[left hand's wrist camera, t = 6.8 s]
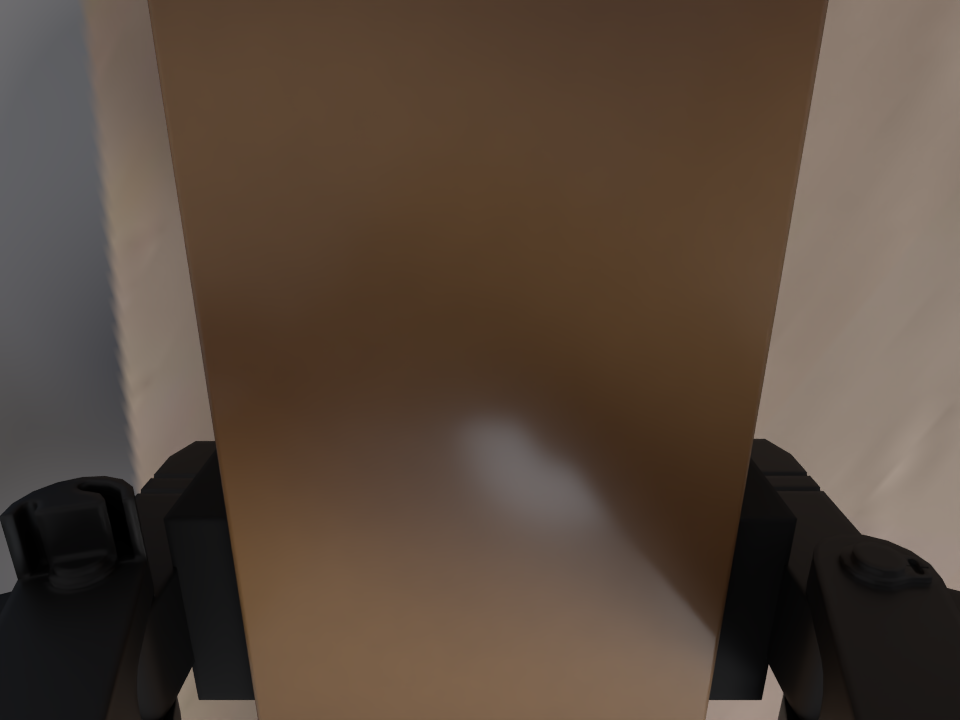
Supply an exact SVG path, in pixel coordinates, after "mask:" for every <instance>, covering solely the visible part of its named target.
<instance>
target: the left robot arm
mask: <svg viewBox="0 0 960 720" xmlns="http://www.w3.org/2000/svg"><path fill="white" fill-rule="evenodd" d="M0 521H1V524H2V528H3V531H4V534H5V538H6V541H7V545H8V548H9V551H10V555H11V558H12V561H13V565H14V568H15V571H16V575H17V578H18V581H17V583H16V584H15V586H14V588H13V590H12V592H8V593H4V594H0V720H181V713H180V708H179V703H178V698H177V695H178V693H179V691H180V689H181V688H182V686H183V684H184V682H185V680H186V678H187V676H188V674H189V672H190V670H191V668H192V667H193V673H194V678H195V683H196V688H197V693H198V698H199V700H255V696H254V690H253V683H252V677H251V670H250V664H249V657H248V651H247V644H246V638H245V631H244V625H243V618H242V612H241V605H240V599H239V592H238V586H237V579H236V573H235V566H234V560H233V553H232V547H231V540H230V534H229V527H228V521H227V514H226V508H225V501H224V494H223V488H222V481H221V475H220V468H219V462H218V455H217V449H216V442H215V441H195V442H194V443H192V444H190V445H188V446H187V447H185V448H183V449H182V450H180V451H178V452H177V453H175V454H173V455H172V456H170V457H169V458H168V459H167V460H166V462H165V463H164V464H163V465H162V466H161V467H160V468H159V470H158V471H157V472H156V473H155V474H154V478H151V479H150V480H149V481H148V482H147V483H146V485H145V486H144V487H143V488H142V489H141V494H137V495H136V496H135V495H134V490H133V487H132V486H131V485H130V484H128V483H127V482H126V481H124V480H123V479H118V478H113V477H107V476H97V477H81V478H76V479H71V480H67V481H62V482H58V483H55V484H52V485H49V486H47V487H44V488H41V489H39V490H36V491H33V492H31V493H30V494H28V495H26V496H25V497H23V498H21V499H19V500H18V501H16V502H14V503H13V504H11V505H10V506H9V507H8V508H7V509H6V511H5V512H4V513H3V514H2V515H1V516H0ZM768 665H770V667H771V669H772V671H773V673H774V675H775V677H776V679H777V681H778V683H779V685H780V687H781V689H782V691H783V698H782V703H781V708H780V712H779V717H778V720H960V591H957V590H953V589H949V588H947V587H946V585H945V583H944V581H943V579H942V578H941V577H940V576H939V574H938V573H937V572H936V571H935V569H934V568H933V567H932V566H931V565H930V564H929V563H928V562H926V561H925V560H923V559H922V558H920V557H919V556H918V555H916V554H915V553H913V552H912V551H910V550H908V549H905V548H903V547H901V546H898V545H896V544H894V543H892V542H889V541H886V540H882V539H878V538H874V537H870V536H866V535H861V533H860V532H859V531H858V530H857V529H856V528H855V527H854V525H853V524H852V523H851V522H850V521H849V520H848V519H847V517H846V516H845V515H844V514H843V513H842V512H841V511H840V510H839V508H838V507H837V506H836V505H835V504H834V503H833V502H832V500H831V499H830V498H829V497H828V496H827V495H826V494H825V492H824V491H820V487H819V486H818V484H817V483H816V482H815V481H814V480H813V479H812V478H811V476H807V472H806V471H805V470H804V468H803V467H802V466H801V465H800V464H799V463H798V462H797V460H796V459H795V458H794V457H793V456H792V455H791V454H790V453H788V452H786V451H785V450H783V449H781V448H780V447H778V446H776V445H774V444H773V443H771V442H769V441H768V440H766V439H753V445H752V450H751V456H750V462H749V468H748V474H747V480H746V485H745V491H744V497H743V503H742V509H741V515H740V520H739V526H738V532H737V538H736V544H735V550H734V556H733V561H732V567H731V573H730V579H729V585H728V591H727V596H726V602H725V608H724V614H723V620H722V626H721V631H720V637H719V643H718V649H717V655H716V661H715V667H714V672H713V678H712V684H711V690H710V696H709V700H762V695H763V690H764V685H765V680H766V675H767V670H768Z"/></svg>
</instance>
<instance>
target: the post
mask: <svg viewBox="0 0 960 720" xmlns="http://www.w3.org/2000/svg"><path fill="white" fill-rule="evenodd" d="M828 1H829V0H148V6H149V13H150V19H151V26H152V32H153V39H154V45H155V52H156V58H157V65H158V71H159V78H160V84H161V91H162V97H163V104H164V110H165V117H166V123H167V130H168V136H169V143H170V149H171V156H172V162H173V169H174V176H175V182H176V189H177V195H178V202H179V208H180V215H181V221H182V228H183V234H184V241H185V247H186V254H187V260H188V267H189V273H190V280H191V286H192V293H193V299H194V306H195V312H196V319H197V325H198V332H199V338H200V345H201V351H202V358H203V364H204V371H205V377H206V384H207V390H208V397H209V403H210V410H211V416H212V423H213V429H214V436H215V442H216V449H217V455H218V462H219V468H220V475H221V481H222V488H223V494H224V501H225V508H226V514H227V521H228V527H229V534H230V540H231V547H232V553H233V560H234V566H235V573H236V579H237V586H238V592H239V599H240V605H241V612H242V618H243V625H244V631H245V638H246V644H247V651H248V657H249V664H250V670H251V677H252V683H253V690H254V696H255V703H256V709H257V716H258V720H705V719H706V713H707V707H708V702H709V696H710V690H711V684H712V678H713V672H714V667H715V661H716V655H717V649H718V643H719V637H720V631H721V626H722V620H723V614H724V608H725V602H726V596H727V591H728V585H729V579H730V573H731V567H732V561H733V556H734V550H735V544H736V538H737V532H738V526H739V520H740V515H741V509H742V503H743V497H744V491H745V485H746V480H747V474H748V468H749V462H750V456H751V450H752V445H753V439H754V433H755V427H756V421H757V415H758V410H759V404H760V398H761V392H762V386H763V380H764V374H765V369H766V363H767V357H768V351H769V345H770V339H771V334H772V328H773V322H774V316H775V310H776V304H777V299H778V293H779V287H780V281H781V275H782V269H783V263H784V258H785V252H786V246H787V240H788V234H789V228H790V223H791V217H792V211H793V205H794V199H795V193H796V188H797V182H798V176H799V170H800V164H801V158H802V153H803V147H804V141H805V135H806V129H807V123H808V117H809V112H810V106H811V100H812V94H813V88H814V82H815V77H816V71H817V65H818V59H819V53H820V47H821V42H822V36H823V30H824V24H825V18H826V12H827V6H828Z"/></svg>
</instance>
